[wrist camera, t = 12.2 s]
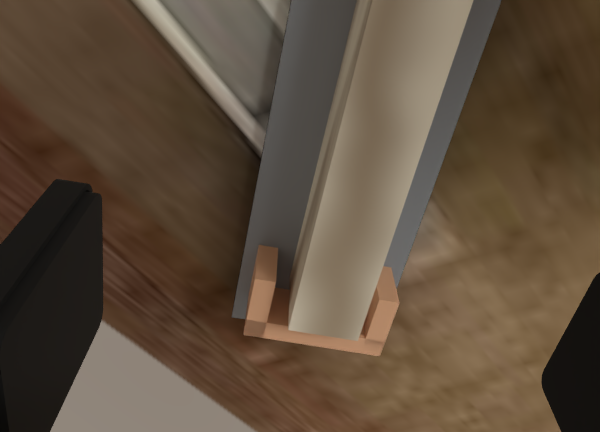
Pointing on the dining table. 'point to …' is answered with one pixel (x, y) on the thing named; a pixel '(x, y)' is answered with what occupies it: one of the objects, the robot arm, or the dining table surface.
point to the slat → (370, 157)
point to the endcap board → (303, 160)
